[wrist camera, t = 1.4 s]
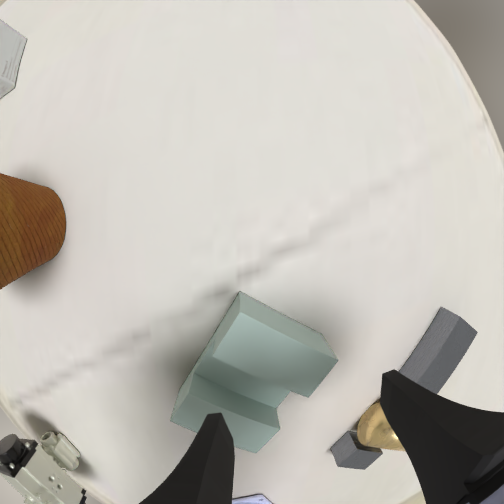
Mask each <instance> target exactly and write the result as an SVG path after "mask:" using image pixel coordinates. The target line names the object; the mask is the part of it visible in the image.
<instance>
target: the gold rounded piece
mask: <svg viewBox="0 0 504 504" xmlns="http://www.w3.org/2000/svg"><path fill="white" fill-rule="evenodd" d="M357 436H358V439H359V441H360V442H361V443H362V444H363V445H365V446H370V447H376V448H382V449H390V450H397V451H405V449H404V447H403V446H402V444H401V443H400V441H399V439H398V438H397V436H396V434H395V433H394V431H393V430H392V428H391V426H390V425H389V423H388V421H387V419H386V417H385V415H384V412H383V410H382V408H381V405H380V402H379V403H375V404H373V405H372V406H370V407H369V409H368V410H367V411H366V412H365V413H364V414H363V415H362V417H361V418H360V421H359V423H358V428H357Z"/></svg>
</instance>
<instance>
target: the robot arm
mask: <svg viewBox="0 0 504 504" xmlns="http://www.w3.org/2000/svg"><path fill="white" fill-rule="evenodd" d="M380 405H381V408H382V410H383V412H384V415H385V417H386V419H387V421H388V423H389V425H390V426H391V428H392V430H393V431H394V433H395V434H396V436H397V438H398V439H399V441H400V443H401V444H402V446H403V447H404V449H405V451H406V452H407V454H408V456H409V458H410V460H411V462H412V465H413V467H414V469H415V472H416V474H417V477H418V480H419V482H420V485H421V488H422V491H423V494H424V497H425V501H426V504H504V412H493V411H486V410H481V409H476V408H472V407H468V406H465V405H462V404H459V403H456V402H453V401H451V400H448V399H446V398H444V397H441V396H439V395H437V394H435V393H433V392H431V391H430V390H428V389H426V388H424V387H422V386H421V385H419V384H417V383H416V382H414V381H412V380H411V379H409V378H407V377H406V376H404V375H403V374H401V373H399V372H398V371H396V370H391V371H389V372H386V373H383V374H382V386H381V397H380ZM234 461H235V455H234V441H233V437H232V435H231V433H230V431H229V428H228V426H227V424H226V422H225V419H224V417H223V415H222V413H221V412H220V413H211V414H207V415H206V417H205V419H204V422H203V424H202V426H201V428H200V429H199V431H198V433H197V435H196V437H195V439H194V440H193V442H192V444H191V446H190V447H189V449H188V451H187V452H186V454H185V455H184V457H183V458H182V459H181V461H180V462H179V464H178V465H177V466H176V468H175V469H174V470H173V472H172V473H171V474H170V475H169V476H168V477H167V479H166V480H165V481H164V482H163V483H162V484H161V485H160V486H159V487H158V488H157V489H156V490H155V491H154V492H153V493H151V494H150V495H149V496H148V497H147V498H145V499H144V500H143V501H142V502H140V503H139V504H272V503H271V502H270V501H269V500H268V499H266V498H265V497H264V496H263V495H255V496H250V497H245V498H240V499H234V500H232V490H233V476H234Z"/></svg>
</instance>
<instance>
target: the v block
mask: <svg viewBox="0 0 504 504" xmlns="http://www.w3.org/2000/svg"><path fill="white" fill-rule="evenodd" d="M337 361H338V359H337V357H336V356H335V354H334V353H333V351H332V349H331V348H330V346H329V345H328V343H327V342H326V340H325V339H324V337H323V335H322V334H320V333H318V332H316V331H314V330H312V329H310V328H309V327H307V326H305V325H303V324H301V323H299V322H297V321H295V320H293V319H291V318H289V317H287V316H285V315H284V314H282V313H280V312H278V311H276V310H274V309H272V308H270V307H269V306H267V305H265V304H263V303H261V302H259V301H257V300H256V299H254V298H252V297H250V296H248V295H246V294H245V293H243V292H241V291H240V292H239V294H238V295H237V297H236V299H235V300H234V302H233V304H232V305H231V307H230V309H229V310H228V312H227V313H226V315H225V317H224V318H223V320H222V322H221V323H220V325H219V327H218V328H217V330H216V332H215V333H214V335H213V336H212V338H211V340H210V341H209V343H208V345H207V346H206V348H205V349H204V351H203V353H202V354H201V356H200V358H199V359H198V361H197V362H196V364H195V366H194V367H193V369H192V371H191V372H190V374H189V375H188V377H187V379H186V380H185V382H184V384H183V385H182V387H181V388H180V390H179V393H178V397H177V400H176V403H175V406H174V410H173V413H172V416H171V420H170V421H171V422H173V423H176V424H178V425H180V426H182V427H185V428H187V429H189V430H192V431H194V432H196V433H198V431H199V429H200V428H201V426H202V424H203V422H204V419H205V417H206V415H207V414H211V413H220V412H221V413H222V415H223V417H224V419H225V422H226V424H227V426H228V428H229V431H230V433H231V435H232V437H233V441H234V447H237V448H240V449H243V450H247V451H250V452H253V453H257V452H258V451H259V450H260V449H261V448H262V447H263V446H264V445H265V444H266V443H267V442H268V441H269V440H270V439H271V438H272V437H273V436H274V435H275V434H276V433H277V432H278V431H279V430H280V426H279V421H278V415H277V410H276V408H277V407H278V405H279V404H280V403H281V402H282V401H283V400H284V398H285V397H286V396H287V395H288V394H289V392H290V391H292V392H295V393H297V394H300V395H302V396H305V397H308V398H309V396H310V395H311V394H312V393H313V392H314V391H315V389H316V388H317V387H318V386H319V384H320V383H321V382H322V381H323V379H324V378H325V377H326V376H327V374H328V373H329V372H330V371H331V369H332V368H333V367H334V365H335V364H336V363H337Z"/></svg>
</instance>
